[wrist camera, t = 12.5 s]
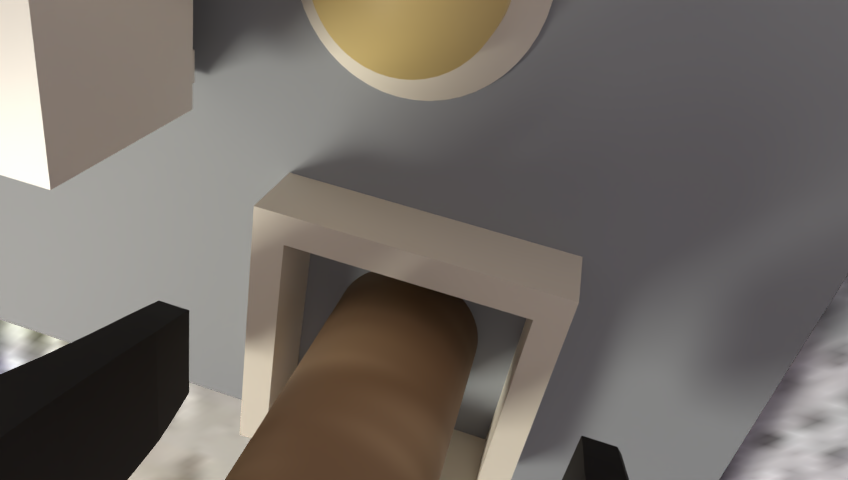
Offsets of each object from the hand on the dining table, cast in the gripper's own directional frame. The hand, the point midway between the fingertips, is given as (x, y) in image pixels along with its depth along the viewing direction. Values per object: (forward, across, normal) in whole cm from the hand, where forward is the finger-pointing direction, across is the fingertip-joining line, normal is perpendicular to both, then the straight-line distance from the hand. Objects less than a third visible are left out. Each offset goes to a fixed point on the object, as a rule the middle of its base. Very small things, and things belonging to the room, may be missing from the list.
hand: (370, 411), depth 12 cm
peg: (+2, 0, 0) cm, 2 cm away
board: (+4, +2, -4) cm, 5 cm away
